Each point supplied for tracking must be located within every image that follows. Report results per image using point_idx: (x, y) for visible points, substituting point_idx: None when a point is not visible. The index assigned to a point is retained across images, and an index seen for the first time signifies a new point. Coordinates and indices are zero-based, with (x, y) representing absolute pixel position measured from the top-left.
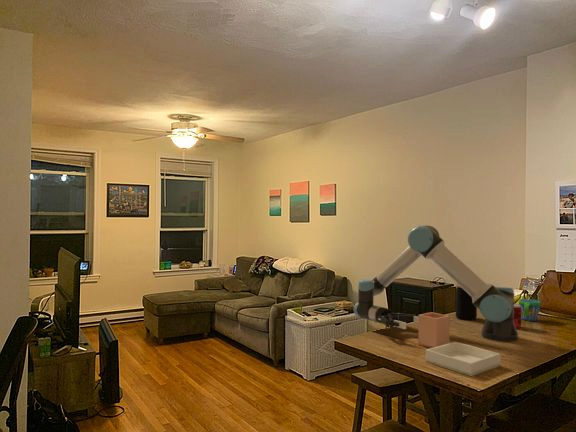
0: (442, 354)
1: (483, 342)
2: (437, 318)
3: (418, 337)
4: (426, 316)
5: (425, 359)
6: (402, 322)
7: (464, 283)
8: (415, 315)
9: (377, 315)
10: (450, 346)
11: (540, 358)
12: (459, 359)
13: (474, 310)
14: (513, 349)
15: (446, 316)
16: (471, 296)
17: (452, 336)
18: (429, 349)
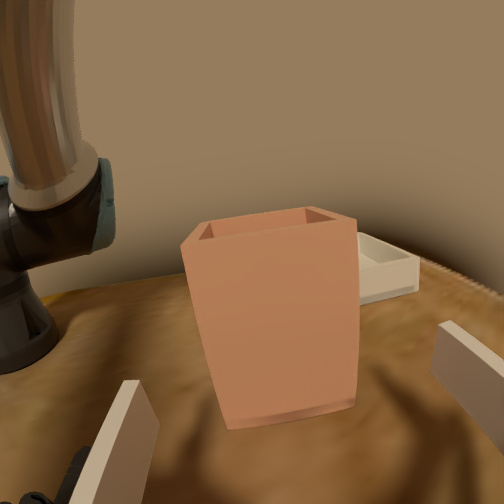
0: (389, 246)
1: (89, 347)
2: (299, 208)
3: (357, 372)
4: (328, 212)
5: (418, 285)
6: (469, 334)
7: (74, 104)
8: (45, 500)
9: None
10: None
11: (151, 281)
12: (368, 237)
13: None
14: (117, 307)
15: (222, 219)
16: (62, 172)
17: (59, 421)
18: (407, 258)
